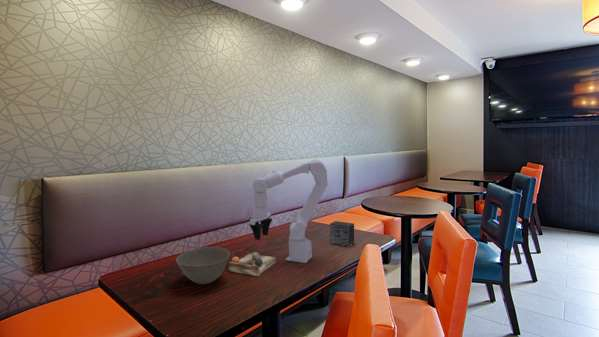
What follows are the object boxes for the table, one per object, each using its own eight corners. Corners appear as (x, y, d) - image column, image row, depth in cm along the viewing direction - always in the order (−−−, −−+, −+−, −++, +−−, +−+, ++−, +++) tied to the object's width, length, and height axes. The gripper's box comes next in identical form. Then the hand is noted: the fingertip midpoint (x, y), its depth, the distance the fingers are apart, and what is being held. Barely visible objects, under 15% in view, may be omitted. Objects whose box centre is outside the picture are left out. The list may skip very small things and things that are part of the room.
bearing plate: (275, 262, 134) (275, 254, 134) (257, 276, 120) (257, 267, 120) (249, 258, 139) (249, 250, 139) (229, 271, 125) (228, 262, 125)
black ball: (264, 265, 126) (264, 257, 125) (260, 267, 123) (260, 260, 123) (257, 264, 127) (257, 256, 127) (253, 266, 124) (253, 259, 124)
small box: (354, 243, 156) (354, 222, 155) (349, 247, 151) (349, 226, 150) (335, 240, 162) (335, 220, 161) (329, 244, 156) (329, 223, 156)
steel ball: (260, 258, 133) (260, 251, 132) (256, 261, 130) (256, 253, 130) (254, 257, 134) (253, 250, 134) (249, 260, 131) (249, 252, 131)
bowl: (176, 276, 121) (175, 251, 120) (225, 267, 129) (225, 244, 128) (178, 298, 104) (177, 269, 103) (235, 287, 111) (234, 259, 111)
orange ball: (240, 263, 128) (240, 256, 128) (236, 266, 125) (236, 258, 125) (234, 262, 129) (234, 255, 129) (230, 264, 126) (230, 257, 126)
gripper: (260, 202, 143) (261, 231, 144) (243, 208, 130) (244, 241, 131) (274, 203, 140) (275, 233, 142) (258, 210, 127) (259, 243, 128)
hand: (261, 237), depth 136 cm, fingers open, 6 cm apart
